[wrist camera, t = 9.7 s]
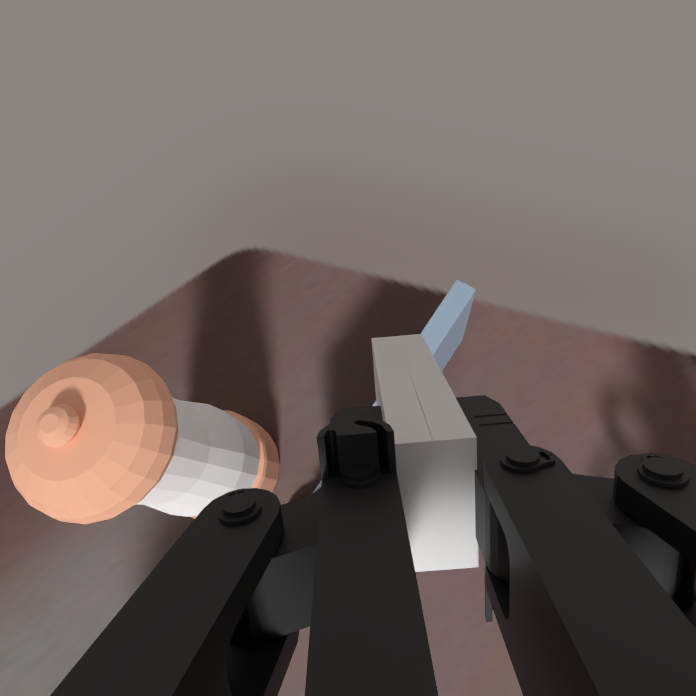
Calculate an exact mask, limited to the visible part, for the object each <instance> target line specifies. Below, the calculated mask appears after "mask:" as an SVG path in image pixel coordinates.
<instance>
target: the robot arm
mask: <svg viewBox="0 0 696 696" xmlns="http://www.w3.org/2000/svg"><path fill="white" fill-rule="evenodd" d="M371 340H372V353H373V365H374V378H375V391H376V404H377V406H370V407H359V408H347V409H340V410H339V411H338V412H337V413H336V414H335V415H334V416H333V417H332V418H331V424H329V425H327V426H326V427H324V428H323V429H322V430H320V432H319V434H318V436H317V443H318V452H319V460H320V468H321V477H322V484H321V487H320V488H319V489H318V490H316V491H315V492H314V493H312V494H310V495H309V496H307V497H305V498H302V499H299V500H297V501H294V502H290V503H287V504H283V505H281V504H280V502H279V499H278V497H277V496H276V495H275V494H273V493H272V492H270V491H269V490H264V489H259V488H247V489H245V488H243V489H237V490H233V491H230V492H228V493H226V494H224V495H222V496H220V497H218V498H216V499H214V500H212V501H211V502H210V503H209V504H208V505H207V506H206V507H205V508H203V510H202V511H201V512H200V513H199V515H198V516H197V517H196V518H195V519H194V521H193V522H192V523H191V524H190V526H189V527H188V528H187V529H186V530H185V532H184V533H183V534H182V535H181V537H180V538H179V539H178V540H177V541H176V543H175V544H174V545H173V546H172V548H171V549H170V550H169V551H168V552H167V554H166V555H165V556H164V557H163V559H162V560H161V561H160V562H159V563H158V565H157V566H156V567H155V568H154V570H153V571H152V572H151V573H150V574H149V576H148V577H147V578H146V579H145V580H144V582H143V583H142V584H141V585H140V587H139V588H138V589H137V590H136V591H135V593H134V594H133V595H132V596H131V598H130V599H129V600H128V601H127V602H126V604H125V605H124V606H123V607H122V609H121V610H120V611H119V612H118V613H117V615H116V616H115V617H114V618H113V620H112V621H111V622H110V623H109V624H108V626H107V627H106V628H105V629H104V631H103V632H102V633H101V634H100V635H99V637H98V638H97V639H96V640H95V642H94V643H93V644H92V645H91V646H90V648H89V649H88V650H87V651H86V653H85V654H84V655H83V656H82V657H81V659H80V660H79V661H78V662H77V664H76V665H75V666H74V667H73V668H72V670H71V671H70V672H69V673H68V675H67V676H66V677H65V678H64V679H63V681H62V682H61V683H60V684H59V686H58V687H57V688H56V689H55V690H54V692H53V693H52V694H51V695H50V696H277V695H278V692H279V690H280V687H281V685H282V682H283V679H284V677H285V674H286V671H287V669H288V666H289V663H290V661H291V658H292V655H293V653H294V650H295V647H296V645H297V642H298V636H299V630H300V629H303V628H306V627H309V626H310V637H309V650H308V663H307V676H306V688H305V696H438V692H437V686H436V681H435V676H434V670H433V665H432V660H431V654H430V649H429V643H428V638H427V633H426V627H425V622H424V617H423V611H422V606H421V601H420V595H419V590H418V584H417V579H416V574H415V572H421V571H434V570H447V569H460V568H473V567H478V545H479V547H480V550H481V553H482V555H483V558H484V561H485V616H486V622H492V610H494V613H495V616H496V619H497V622H498V624H499V627H500V630H501V633H502V636H503V639H504V642H505V645H506V647H507V650H508V653H509V656H510V659H511V662H512V665H513V667H514V670H515V673H516V676H517V679H518V682H519V685H520V687H521V690H522V693H523V696H696V466H693V465H691V464H689V463H686V462H684V461H682V460H679V459H675V458H671V457H668V456H666V455H660V454H655V455H653V454H640V455H631V456H628V457H626V458H623V459H621V460H619V462H618V463H617V465H616V466H615V475H614V479H612V478H602V477H592V476H584V475H577V474H572V473H571V472H570V471H569V469H568V468H567V467H566V466H565V464H564V463H563V462H562V460H561V459H559V458H558V457H557V456H556V455H555V454H553V453H552V452H549V451H547V450H545V449H542V448H540V447H535V446H530V445H529V443H528V442H527V441H526V439H525V438H524V436H523V435H522V434H521V432H520V431H519V430H518V428H517V427H516V425H515V424H513V421H512V420H511V419H510V417H509V416H508V415H507V413H506V412H505V410H504V409H503V408H502V406H501V405H500V403H498V402H496V401H494V400H492V399H490V398H489V397H487V396H485V395H483V396H471V397H459V398H455V396H454V394H453V392H452V390H451V388H450V386H449V385H448V383H447V381H446V379H445V377H444V375H443V373H442V371H441V370H440V368H439V366H438V364H437V362H436V360H435V358H434V356H433V355H432V353H431V351H430V349H429V347H428V345H427V343H426V341H425V339H424V338H423V336H422V334H414V335H402V336H391V337H379V338H371Z"/></svg>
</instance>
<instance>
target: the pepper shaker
mask: <svg viewBox="0 0 696 696" xmlns="http://www.w3.org/2000/svg"><path fill="white" fill-rule="evenodd" d="M5 459H6V462H7V465H8V468H9V471H10V475H11V478H12V480H13V483H14V485H15V487H16V488H17V490H18V491H19V492H20V493H21V495H22V496H23V497H24V499H25V500H26V501H27V502H28V504H29V505H30V506H32V507H34V508H36V509H37V510H39V511H41V512H43V513H45V514H46V515H48V516H50V517H52V518H54V519H57V520H59V521H63V522H71V523H79V524H89V523H94V522H98V521H102V520H106V519H110V518H113V517H115V516H117V515H118V514H120V513H122V512H123V511H125V510H127V509H128V508H130V507H132V506H133V505H135V504H141V505H146V506H149V507H151V508H154V509H157V510H160V511H162V512H165V513H168V514H170V515H177V516H186V517H192V518H194V519H195V518H196V517H197V516H198V515H199V513H200V512H201V511H202V510H203V508H205V507H206V506H207V505H208V504H209V503H210V502H211V501H212V500H214V499H216V498H218V497H220V496H222V495H224V494H226V493H228V492H230V491H233V490H237V489H243V488H245V489H247V488H259V489H264V490H269V491H270V492H273V490H274V487H275V485H276V483H277V481H278V474H279V467H280V462H279V456H278V450H277V447H276V445H275V443H274V441H273V439H272V437H271V436H270V434H269V433H267V432H266V431H265V430H264V429H263V428H262V427H261V426H260V425H259V424H257V423H255V422H253V421H252V420H250V419H248V418H246V417H244V416H242V415H240V414H237V413H235V412H233V411H227V410H221V409H219V408H216V407H214V406H212V405H209V404H203V403H196V402H188V401H180V400H177V399H174V398H172V397H171V395H170V393H169V390H168V388H167V386H166V384H165V382H164V380H163V379H162V378H161V377H160V376H159V375H158V374H157V373H156V372H155V371H154V370H153V369H152V368H151V367H150V366H149V365H147V364H145V363H143V362H140V361H138V360H136V359H134V358H131V357H129V356H125V355H113V354H97V353H93V354H89V355H85V356H81V357H77V358H73V359H70V360H68V361H66V362H64V363H62V364H61V365H59V366H57V367H55V368H54V369H52V370H50V371H49V372H47V373H45V374H43V375H42V376H41V377H40V378H39V379H38V380H37V381H36V382H35V383H34V384H33V385H32V386H31V387H30V388H29V389H28V390H27V391H26V392H25V393H24V395H23V396H22V398H21V399H20V401H19V403H18V404H17V406H16V408H15V409H14V411H13V413H12V416H11V419H10V423H9V426H8V429H7V432H6V445H5Z"/></svg>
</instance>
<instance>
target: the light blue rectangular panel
mask: <svg viewBox="0 0 696 696" xmlns="http://www.w3.org/2000/svg"><path fill="white" fill-rule="evenodd" d="M475 292H476V289H474V288H472V287H470V286H468V285H467V284H465V283H463V282H461V281H459V280H456V282H455V283H454V285H453V286H452V288H451V289H450V291H449V292H448V294H447V295H446V296H445V298H444V299H443V301H442V302H441V304H440V305H439V307H438V308H437V310H436V311H435V313H434V314H433V316H432V317H431V319H430V320H429V322H428V323H427V325H426V326H425V328H424V329H423V331H422V332H421V334H422V336H423V338H424V339H425V341H426V343H427V345H428V347H429V349H430V351H431V353H432V355H433V356H434V358H435V360H436V362H437V364H438V366H439V368H440V370H441V371H443V369H444V367H445V366H446V364H447V363H448V361H449V360H450V358H451V357H452V355H453V354H454V352H455V350H456V349H457V347H458V346H459V344H460V343H461V341H462V339H463V336H464V332H465V328H466V325H467V321H468V317H469V314H470V310H471V306H472V303H473V299H474V295H475ZM373 406H377V404H376V401H375V403H374V404H373ZM321 484H322V480H321V482H320V483H319V485H318V486H317V488H316V489H315V491H316V490H318V489H319V488H320V487H321ZM315 491H314V492H315ZM314 492H313V493H314Z"/></svg>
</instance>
